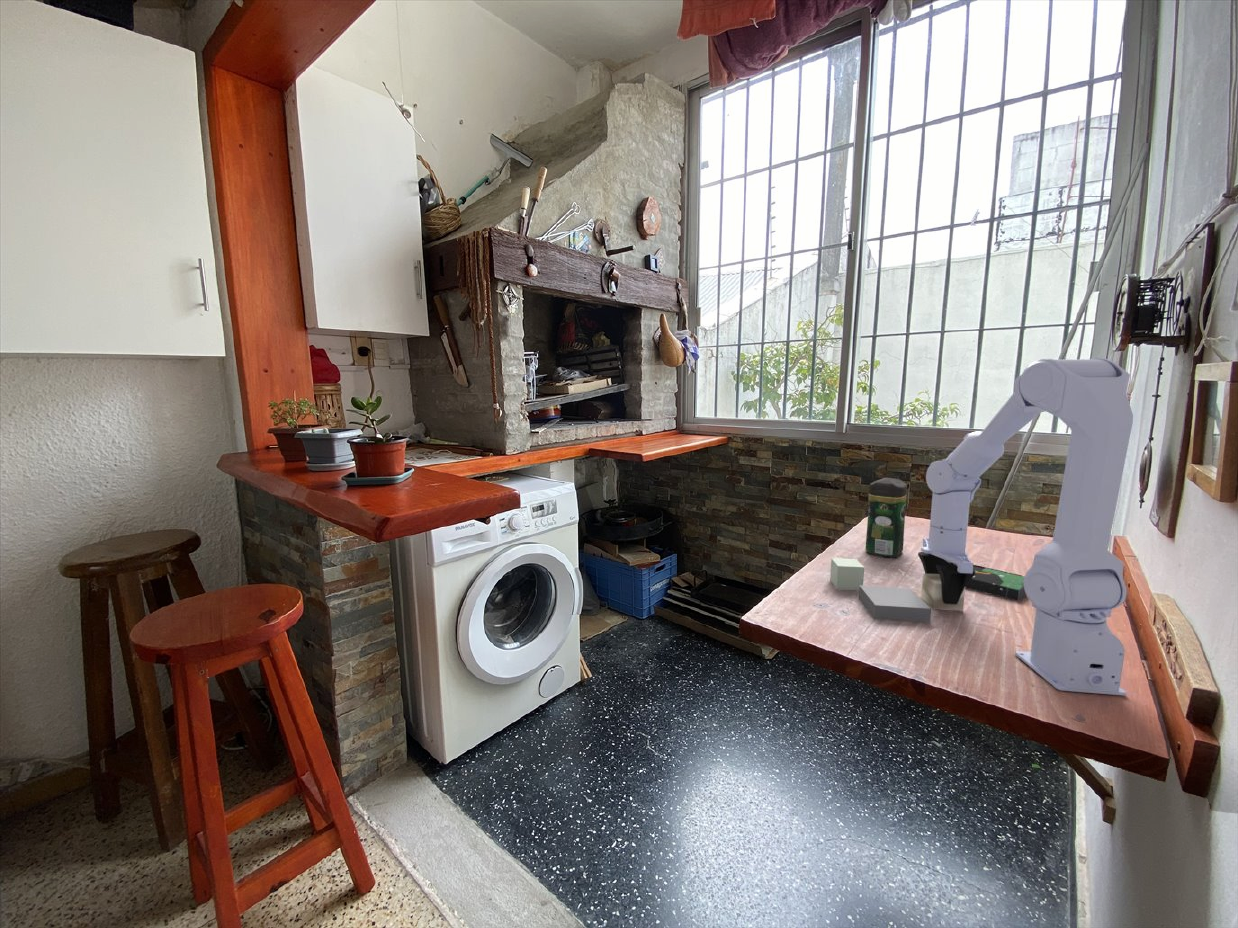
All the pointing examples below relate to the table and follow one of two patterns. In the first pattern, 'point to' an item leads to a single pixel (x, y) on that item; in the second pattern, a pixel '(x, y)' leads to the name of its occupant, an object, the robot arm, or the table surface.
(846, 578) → the sage cube
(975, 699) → the table surface
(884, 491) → the coffee jar
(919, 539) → the table surface
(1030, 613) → the table surface
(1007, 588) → the disk drive
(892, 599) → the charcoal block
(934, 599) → the birch cube
